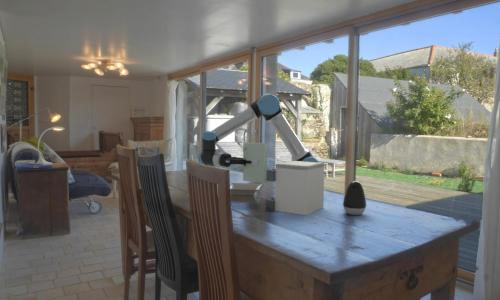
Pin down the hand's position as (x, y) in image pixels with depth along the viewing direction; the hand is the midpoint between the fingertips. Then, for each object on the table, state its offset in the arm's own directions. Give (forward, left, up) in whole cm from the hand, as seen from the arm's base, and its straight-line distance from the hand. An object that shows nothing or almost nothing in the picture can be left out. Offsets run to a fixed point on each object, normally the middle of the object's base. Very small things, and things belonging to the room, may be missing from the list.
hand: (259, 162), depth 201 cm
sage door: (0, -2, -10) cm, 10 cm away
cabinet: (+3, +25, -21) cm, 33 cm away
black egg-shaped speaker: (-3, +50, -21) cm, 54 cm away
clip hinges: (+12, +15, -21) cm, 28 cm away
